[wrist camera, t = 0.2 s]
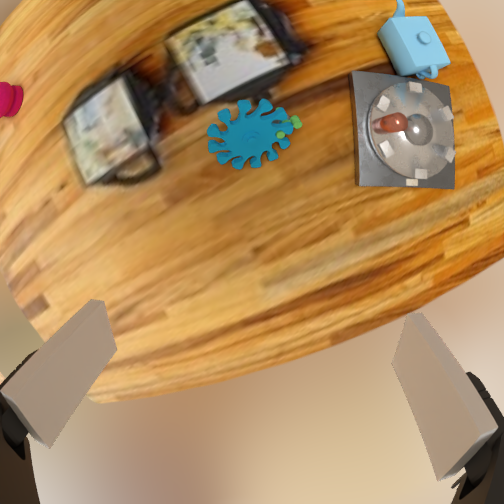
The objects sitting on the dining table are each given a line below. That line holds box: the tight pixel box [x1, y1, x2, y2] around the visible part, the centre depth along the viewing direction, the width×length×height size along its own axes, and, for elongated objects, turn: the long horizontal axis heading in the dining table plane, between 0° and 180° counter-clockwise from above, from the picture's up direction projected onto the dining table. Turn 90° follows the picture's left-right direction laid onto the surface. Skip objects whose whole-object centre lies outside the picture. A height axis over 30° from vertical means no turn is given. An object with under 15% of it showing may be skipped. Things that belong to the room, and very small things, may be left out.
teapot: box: [377, 0, 451, 79], centre depth 24 cm, size 12×6×8 cm, turn 22°
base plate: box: [348, 71, 455, 189], centre depth 31 cm, size 15×15×2 cm
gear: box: [207, 99, 302, 170], centre depth 32 cm, size 11×6×10 cm
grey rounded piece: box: [368, 81, 456, 179], centre depth 26 cm, size 12×12×8 cm
